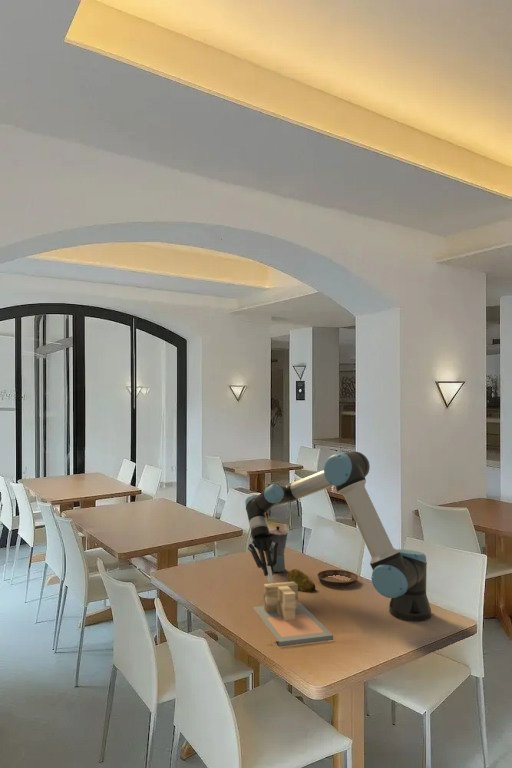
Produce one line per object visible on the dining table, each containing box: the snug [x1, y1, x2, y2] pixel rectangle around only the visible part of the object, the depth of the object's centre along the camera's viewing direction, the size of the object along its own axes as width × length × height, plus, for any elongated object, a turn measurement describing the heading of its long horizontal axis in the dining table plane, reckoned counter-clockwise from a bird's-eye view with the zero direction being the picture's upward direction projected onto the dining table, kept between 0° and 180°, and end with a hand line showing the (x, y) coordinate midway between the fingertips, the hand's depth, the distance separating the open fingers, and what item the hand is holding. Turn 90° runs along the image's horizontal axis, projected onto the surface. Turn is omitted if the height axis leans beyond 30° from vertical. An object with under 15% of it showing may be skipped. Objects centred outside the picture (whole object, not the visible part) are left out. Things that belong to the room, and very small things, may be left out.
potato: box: [286, 568, 316, 593], centre depth 222 cm, size 8×13×8 cm, turn 29°
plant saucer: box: [316, 569, 359, 588], centre depth 234 cm, size 18×18×3 cm
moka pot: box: [266, 526, 289, 573], centre depth 249 cm, size 10×15×20 cm, turn 148°
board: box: [252, 601, 334, 647], centre depth 188 cm, size 30×19×2 cm, turn 17°
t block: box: [263, 581, 299, 620], centre depth 195 cm, size 12×12×9 cm
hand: (271, 583), depth 208 cm, fingers closed
